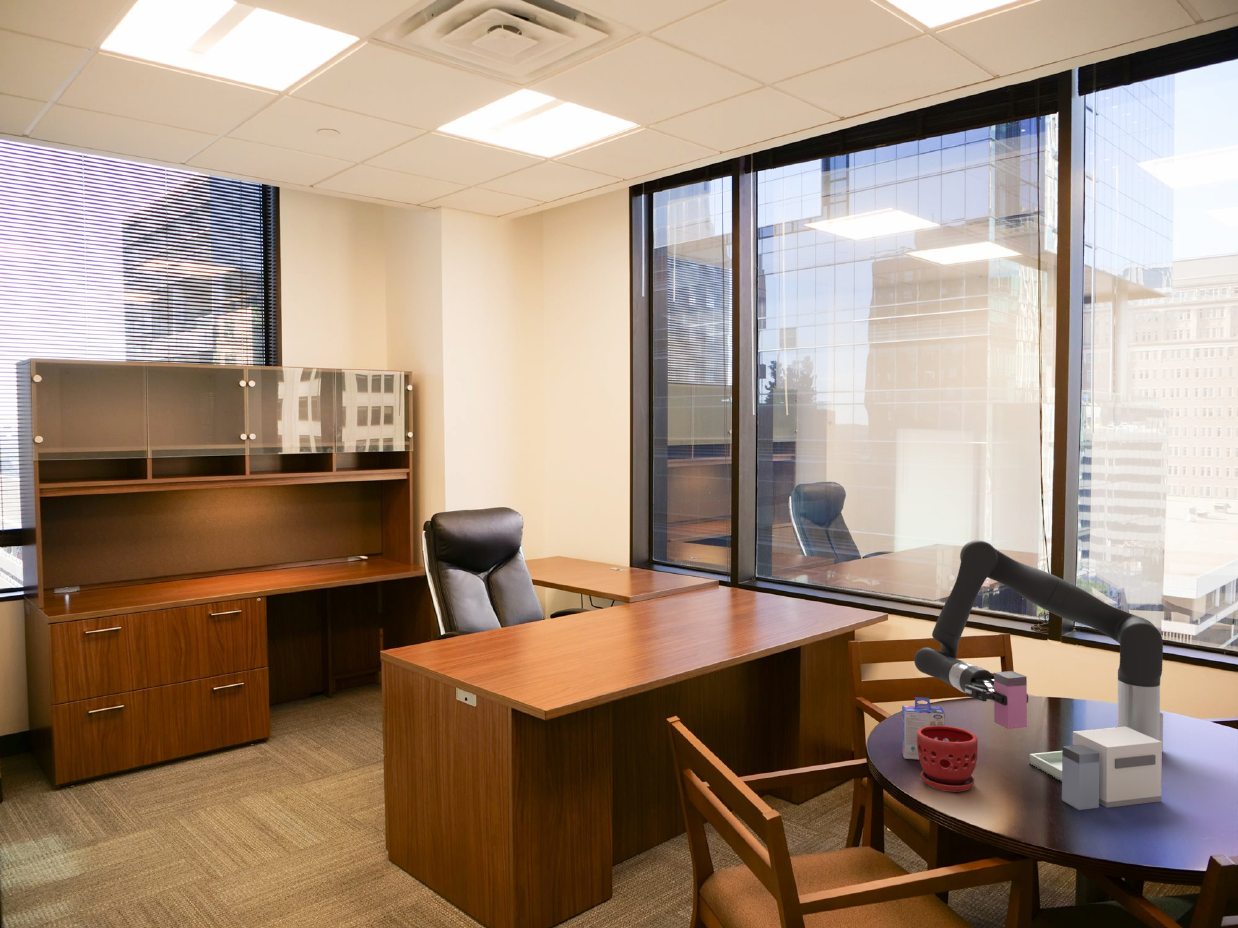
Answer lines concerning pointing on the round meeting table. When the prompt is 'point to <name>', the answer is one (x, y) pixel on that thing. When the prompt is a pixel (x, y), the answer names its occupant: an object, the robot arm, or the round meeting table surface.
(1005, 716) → the magenta cartridge
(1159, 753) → the printer unit
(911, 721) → the ink cartridge box
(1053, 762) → the parts tray
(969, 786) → the plant pot
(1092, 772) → the slate blue cartridge
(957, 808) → the round meeting table surface
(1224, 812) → the round meeting table surface
